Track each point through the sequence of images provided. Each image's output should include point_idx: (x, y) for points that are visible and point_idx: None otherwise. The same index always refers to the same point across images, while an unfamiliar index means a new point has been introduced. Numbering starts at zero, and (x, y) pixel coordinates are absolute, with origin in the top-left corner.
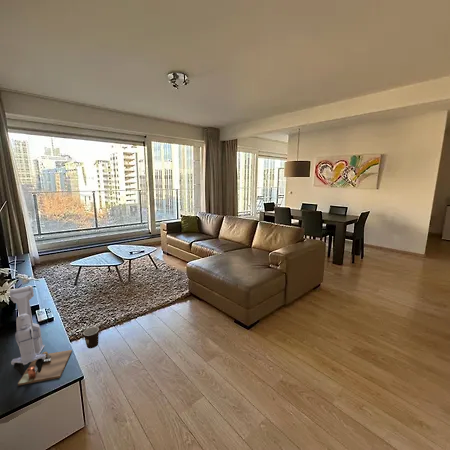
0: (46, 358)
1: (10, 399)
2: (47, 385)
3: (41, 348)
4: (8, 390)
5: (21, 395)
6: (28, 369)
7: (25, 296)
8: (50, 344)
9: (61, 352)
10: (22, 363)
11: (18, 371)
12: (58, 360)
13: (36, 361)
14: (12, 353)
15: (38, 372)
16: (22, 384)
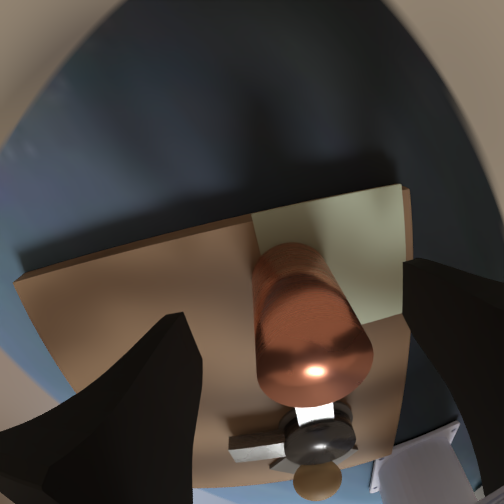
0: None
1: (344, 4)
2: (59, 178)
3: (378, 481)
4: (445, 129)
5: (258, 36)
6: (351, 350)
7: None
8: (341, 497)
9: (215, 483)
10: (492, 433)
11: (496, 283)
12: None
13: (351, 437)
14: None
15: (178, 312)
16: (357, 191)
